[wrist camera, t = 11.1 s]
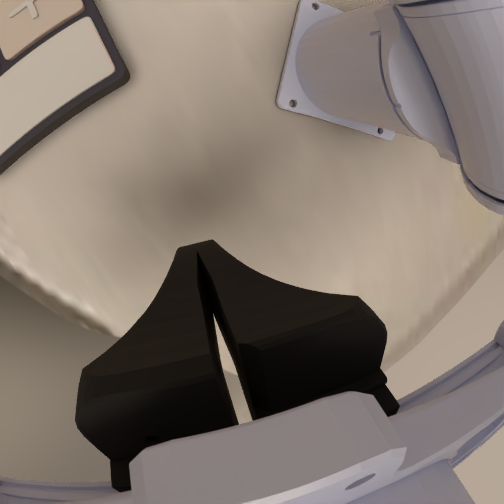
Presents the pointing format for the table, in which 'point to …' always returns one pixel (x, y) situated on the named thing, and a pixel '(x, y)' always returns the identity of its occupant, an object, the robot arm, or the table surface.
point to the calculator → (51, 68)
